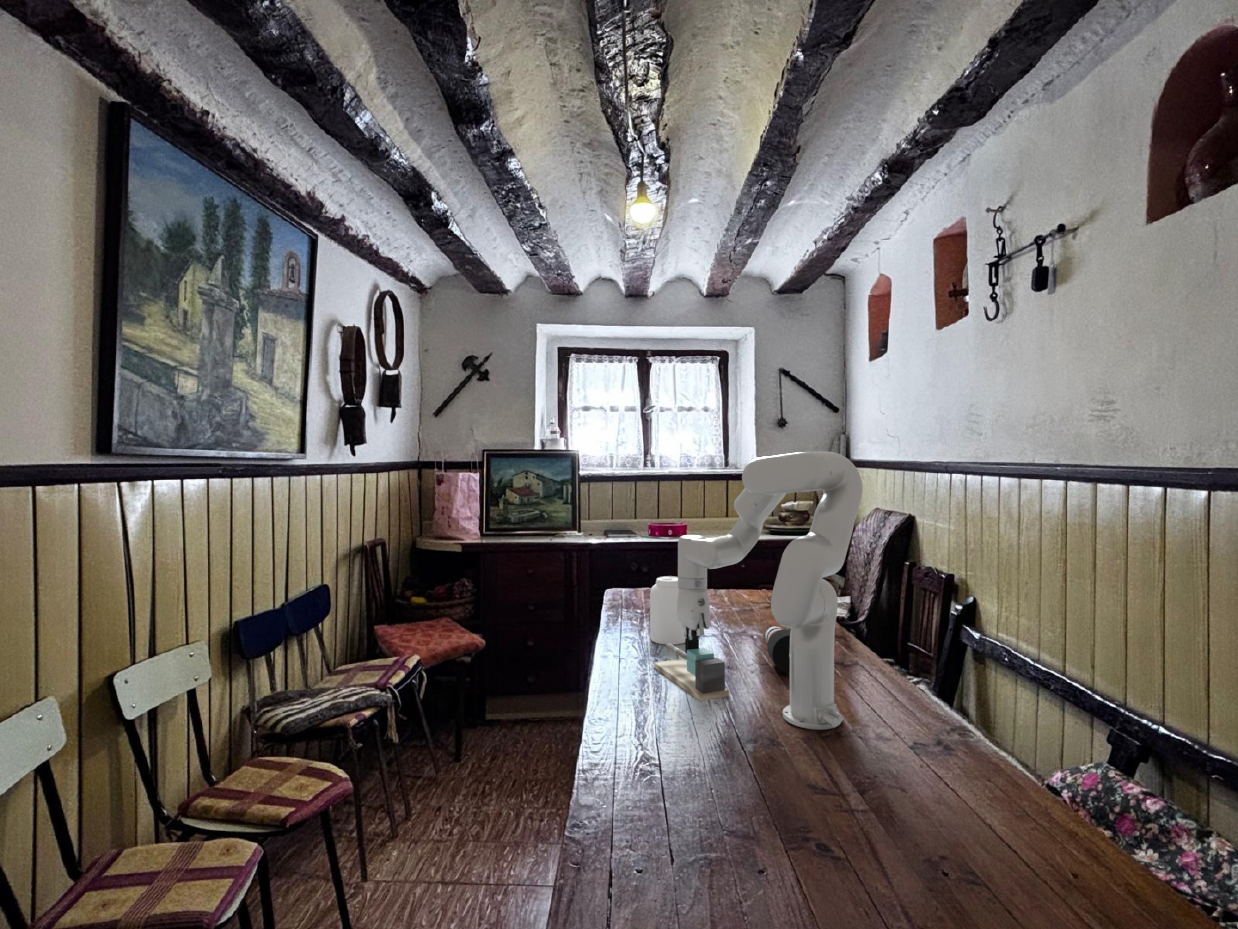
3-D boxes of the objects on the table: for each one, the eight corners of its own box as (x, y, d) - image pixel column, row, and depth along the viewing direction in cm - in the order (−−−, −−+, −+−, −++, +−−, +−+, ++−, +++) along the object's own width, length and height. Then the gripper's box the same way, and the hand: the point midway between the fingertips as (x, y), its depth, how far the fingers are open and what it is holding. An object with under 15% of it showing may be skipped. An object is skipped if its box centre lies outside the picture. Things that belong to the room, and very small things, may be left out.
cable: (780, 655, 206) (794, 626, 206) (800, 681, 172) (817, 646, 173) (751, 640, 207) (765, 611, 208) (765, 662, 173) (782, 628, 174)
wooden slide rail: (728, 696, 159) (728, 661, 159) (699, 700, 156) (699, 665, 156) (680, 664, 183) (679, 634, 183) (654, 668, 180) (654, 637, 180)
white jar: (646, 644, 203) (646, 580, 203) (654, 633, 215) (653, 573, 215) (686, 647, 200) (686, 582, 200) (691, 636, 212) (691, 575, 212)
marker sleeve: (714, 674, 163) (713, 653, 163) (696, 676, 161) (696, 655, 161) (704, 668, 167) (704, 647, 167) (687, 670, 165) (686, 650, 165)
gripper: (719, 587, 162) (719, 660, 162) (691, 577, 176) (691, 644, 176) (693, 590, 159) (692, 664, 160) (666, 578, 173) (666, 647, 174)
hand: (692, 653), depth 168 cm, fingers closed
